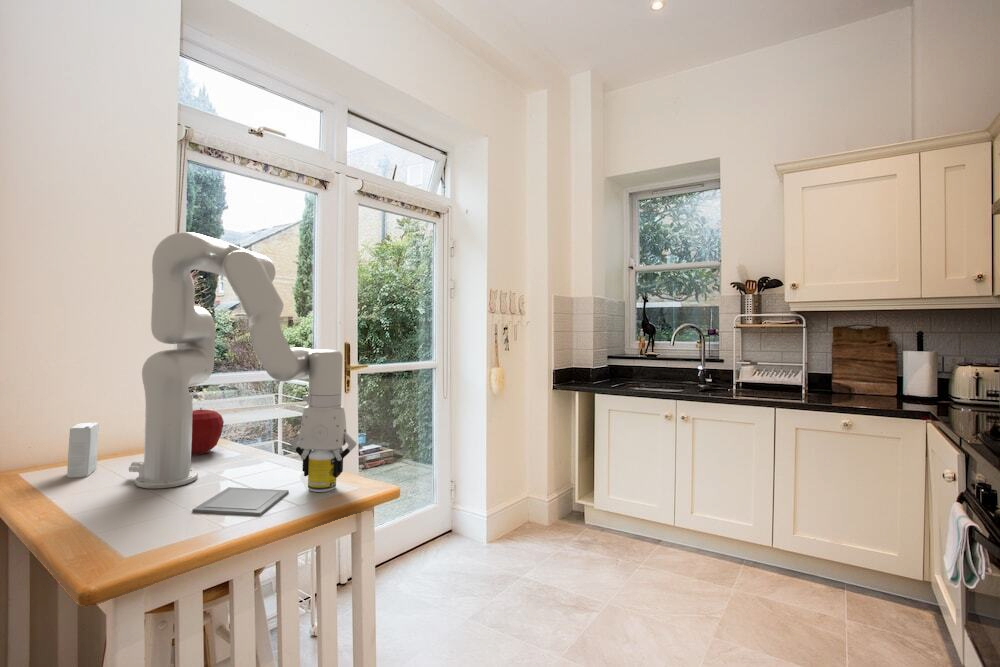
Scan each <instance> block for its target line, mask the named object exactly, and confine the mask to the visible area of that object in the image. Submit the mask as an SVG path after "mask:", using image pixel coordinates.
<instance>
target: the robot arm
mask: <svg viewBox="0 0 1000 667" xmlns="http://www.w3.org/2000/svg"><path fill="white" fill-rule="evenodd" d="M151 261H152V262H151V269H152V270H151V271H152V295H151V315H150V316H151V317H150V318H151V319H150V321H151V322H150V327H151V333H152V336H153V338H154V339H155V340H157V342H159V343H162V344H167V345H176V348H174V349H165V350H161V351H158V352H154V354H152V355H149V357H148V358H147V359H146V360H145V362H144V363H143V366H142V368H141V369H142V370H141V379H142V384H143V389H144V397H145V415H144V416H145V423H144V424H145V425H144V447H143V448H144V452H143V453H144V454H143V461H132V462H131V464H130V466H129V467H128V472H130V473H132V472H133V473H136V472H137V473H138V476H137V477H136V478H135V482H134V483H135V485H136V486H137V487H138V488H141V489H143V488H144V489H151V490H153V489H169V488H175V487H180V486H184V485H187V484H190V483H193V482H194V481H195V480H197V479H198V476H199V472H197V470H194V469H192V468H191V467H192V454H191V443H192V413H193V411H194V410H193V406H194V405H193V399H192V396H191V393H190V391H189V389H190V388H189V387H193V386H196V385H200V384H203V383H204V382H206V381H207V380H208V379H209V378H210V377H211V376H212V374H213V371H214V367H215V355H216V354H215V352H216V324H215V321H214V318H213V316H212V314H211V313H210V312H209V311H208V310H207V309H205V308H203V307H201V306H198V305H195V295H196V290H195V288H196V287H195V283H194V279H193V277H192V274H191V272H192V271H194V270H197V271H201V272H208V273H211V274H212V273H213V274H216V275H220V276H223V277H224V278H226V279H227V281H228V283H229V285H230V287H231V288H232V291H233V292H234V294H235V296H236V298H237V300H238V302H239V304H240V305H241V307H242V309H243V311H244V313H245V315H246V317H247V319H248V332H249V337H250V341H251V344H252V345H251V346H252V348H253V350H254V353H255V354H256V356H257V358H258V360H259V362H260V363H261V365H262V367H263V368H264V370H265V372H266V373H267V374H268V376H270V377H271V378H272V379H273V380H275V381H277V382H283V383H284V382H290V381H294V380H297V379H303V378H308V394H306V395H302V402H306V403H307V405H306V406H304V408H303V411H302V416H301V422H300V428H299V429H300V430H299V434H298V435H297V436H296V435H295V436H296V437H294V438H293V439H291V441H290V446H292V448H293V449H294V450H295V452H296V453H297V455H299V457H300V459H301V460H302V472H303V476H304V477H308V468H309V454H310V452H311V451H313V450H333V451H334V454H335V456H336V460H335V461H334V477H336V478H339V476H341V473H343V471H344V470H343V469H344V458H345V457H346V456H347V455H348V454H349V453H350V452H352V451H353V450H354V449H355V448H356V447H357V445H358V444H357V442H356V441H355V440H354V439H353V438H352V437H351V436H350V434H348V433H347V418H346V413H345V412H346V411H345V408H344V406H343V405H342V391H343V390H342V386H343V385H342V383H343V360H344V359H343V354H342V352H341V351H340V350H336V349H313V348H307V347H301V346H300V347H298V346H296V347H291V346H290V345H289V343H288V341H287V339H286V337H285V336H284V333H283V330H282V326H281V320H280V318H281V315H282V312H283V309H284V307H285V306H284V302H283V299H282V297H281V296H280V295H279V293H278V291H277V288H275V286H274V284H273V281H274V280H275V277H276V267H275V265H274V263H273V261H272V260H271V259H270V258H269V257H267V256H266V255H263V254H260V253H257V252H254V251H250V250H248V249H247V248H246V249H245V248H243V247H239V246H238V245H234V244H232V243H229V242H227V241H223V240H221V239H218V238H214V237H211V236H207V235H204V234H201V233H196V232H192V231H191V232H190V231H188V232H187V231H182V232H181V231H180V232H175V233H172V234H170V235H168V236H166V237H165V238H163V239H162V240H161V241H160V242H159V243H158V244H157V245H156V248H155V250H154V252H153V255H152V260H151ZM346 444H347V445H348V446H347V447H346V448H345V449H343V447H344V446H345V445H346Z"/></svg>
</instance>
